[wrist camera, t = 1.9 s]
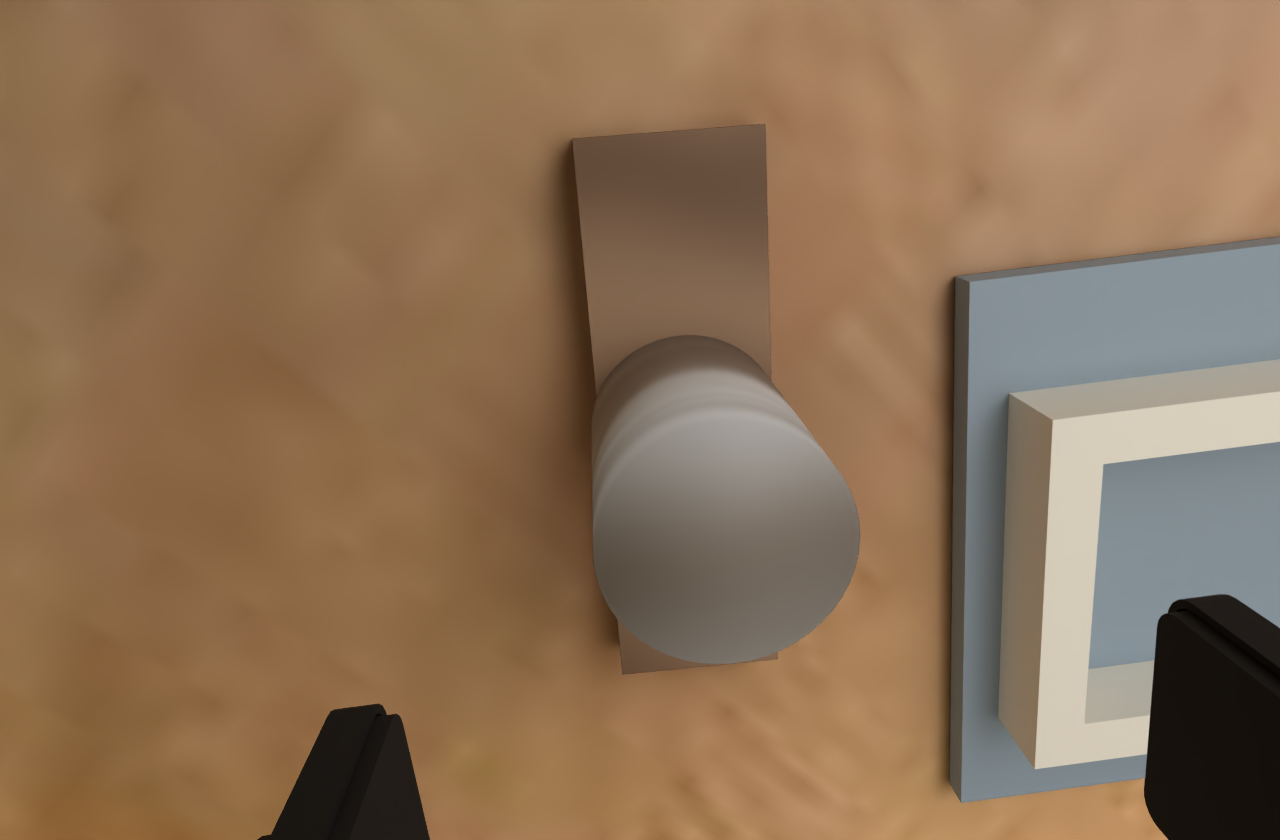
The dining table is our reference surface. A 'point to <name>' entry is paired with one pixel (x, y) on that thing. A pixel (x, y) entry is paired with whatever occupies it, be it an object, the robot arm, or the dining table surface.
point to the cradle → (1102, 496)
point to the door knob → (698, 411)
